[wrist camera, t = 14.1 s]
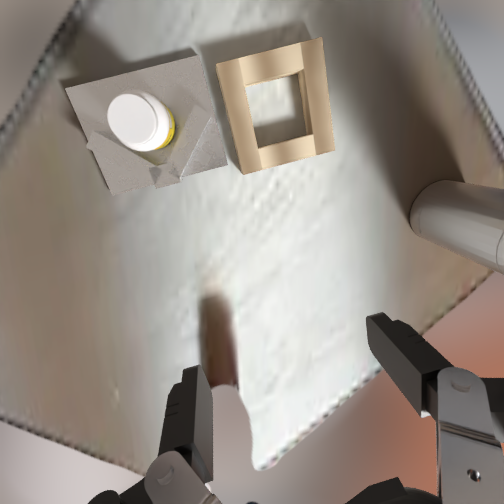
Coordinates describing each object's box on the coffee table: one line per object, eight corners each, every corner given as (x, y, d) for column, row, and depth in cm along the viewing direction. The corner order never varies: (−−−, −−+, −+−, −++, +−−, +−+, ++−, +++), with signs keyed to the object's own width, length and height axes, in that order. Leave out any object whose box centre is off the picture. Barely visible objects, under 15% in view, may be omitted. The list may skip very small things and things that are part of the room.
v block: (199, 57, 32) (197, 47, 28) (228, 166, 37) (229, 169, 33) (69, 90, 31) (52, 84, 28) (115, 196, 36) (106, 201, 33)
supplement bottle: (140, 155, 34) (114, 160, 25) (120, 106, 32) (84, 92, 23) (183, 142, 34) (173, 142, 25) (166, 92, 32) (148, 73, 23)
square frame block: (314, 44, 33) (322, 36, 30) (327, 149, 37) (335, 150, 35) (215, 69, 32) (215, 63, 30) (241, 172, 37) (243, 174, 35)
